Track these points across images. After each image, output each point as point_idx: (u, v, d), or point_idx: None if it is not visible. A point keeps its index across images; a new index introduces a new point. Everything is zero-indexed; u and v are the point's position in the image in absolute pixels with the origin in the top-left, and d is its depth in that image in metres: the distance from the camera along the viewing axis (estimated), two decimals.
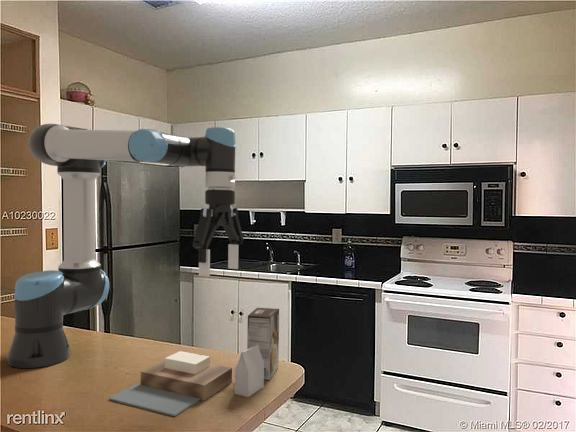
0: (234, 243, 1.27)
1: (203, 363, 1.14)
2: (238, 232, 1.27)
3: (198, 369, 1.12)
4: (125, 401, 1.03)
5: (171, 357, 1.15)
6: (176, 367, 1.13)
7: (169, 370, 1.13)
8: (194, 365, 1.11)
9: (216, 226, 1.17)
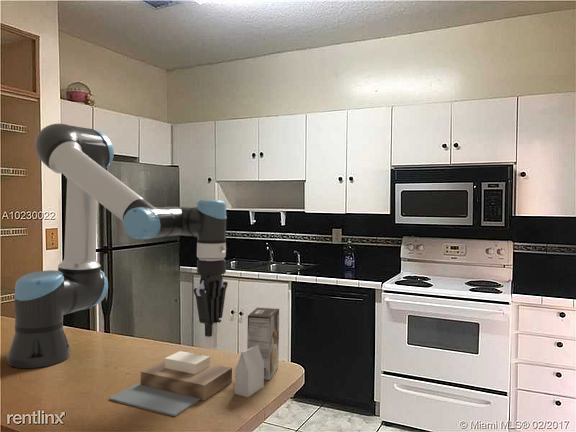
0: None
1: (203, 363, 1.14)
2: (220, 306, 1.27)
3: (198, 369, 1.12)
4: (125, 401, 1.03)
5: (171, 357, 1.15)
6: (176, 367, 1.13)
7: (169, 370, 1.13)
8: (194, 365, 1.11)
9: (213, 298, 1.22)
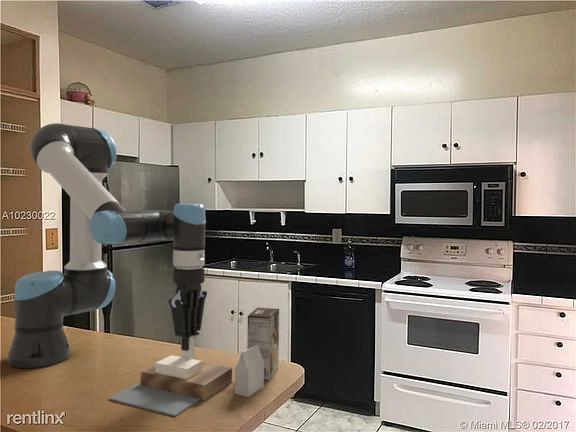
0: None
1: (195, 368, 1.11)
2: (198, 318, 1.18)
3: (190, 374, 1.09)
4: (125, 401, 1.03)
5: (161, 361, 1.12)
6: (167, 372, 1.10)
7: None
8: (185, 370, 1.08)
9: (190, 309, 1.14)
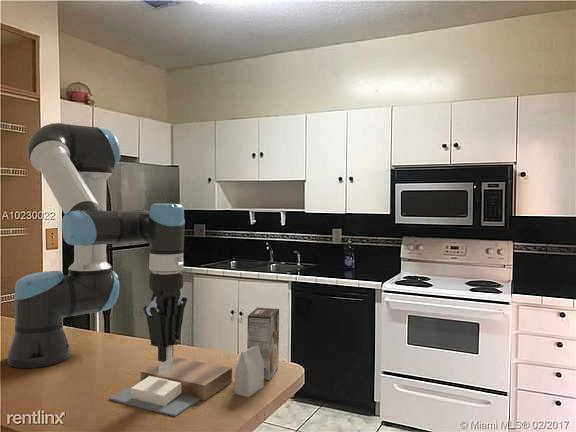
0: (168, 341, 1.08)
1: (173, 392, 1.04)
2: (177, 326, 1.10)
3: (168, 400, 1.02)
4: (125, 401, 1.03)
5: (138, 386, 1.05)
6: (144, 398, 1.03)
7: None
8: (162, 397, 1.01)
9: (167, 317, 1.06)
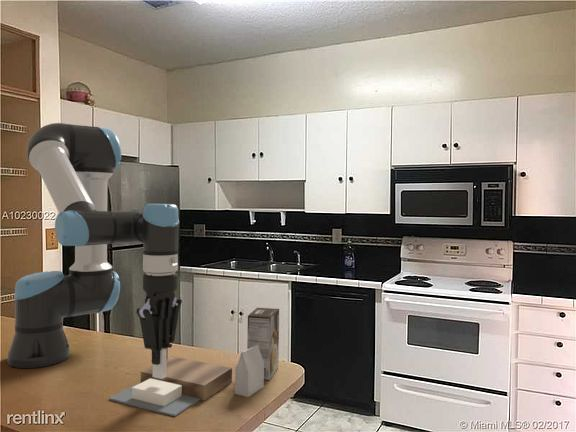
0: (162, 344, 1.06)
1: (174, 393, 1.04)
2: (171, 328, 1.08)
3: (168, 401, 1.02)
4: (125, 401, 1.03)
5: (138, 386, 1.05)
6: (144, 398, 1.03)
7: (169, 370, 1.13)
8: (163, 396, 1.01)
9: (161, 320, 1.04)
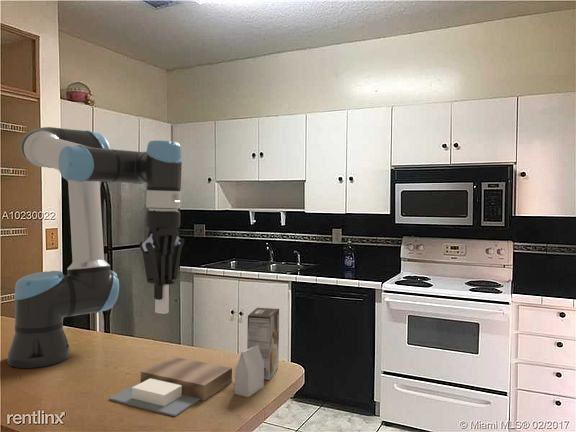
0: (164, 280, 1.08)
1: (174, 393, 1.04)
2: (174, 266, 1.10)
3: (168, 401, 1.02)
4: (125, 401, 1.03)
5: (138, 386, 1.05)
6: (144, 398, 1.03)
7: (169, 370, 1.13)
8: (163, 396, 1.01)
9: (163, 255, 1.06)
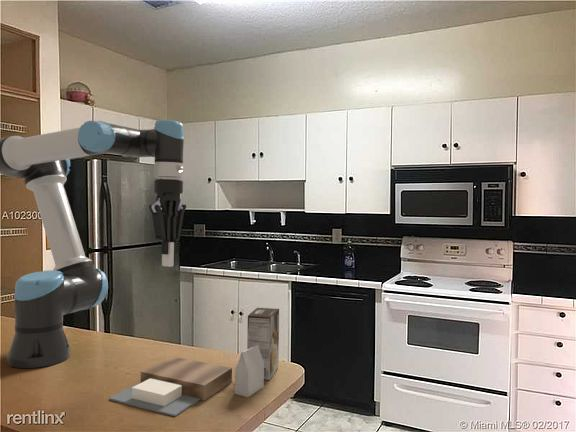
0: (169, 239, 1.28)
1: (174, 393, 1.04)
2: (177, 227, 1.30)
3: (168, 401, 1.02)
4: (125, 401, 1.03)
5: (138, 386, 1.05)
6: (144, 398, 1.03)
7: (169, 370, 1.13)
8: (163, 396, 1.01)
9: (169, 217, 1.25)
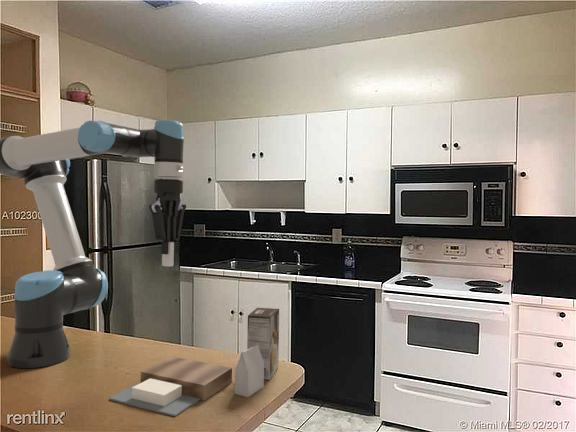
0: (169, 239, 1.28)
1: (174, 393, 1.04)
2: (177, 227, 1.30)
3: (168, 401, 1.02)
4: (125, 401, 1.03)
5: (138, 386, 1.05)
6: (144, 398, 1.03)
7: (169, 370, 1.13)
8: (163, 396, 1.01)
9: (169, 216, 1.26)
